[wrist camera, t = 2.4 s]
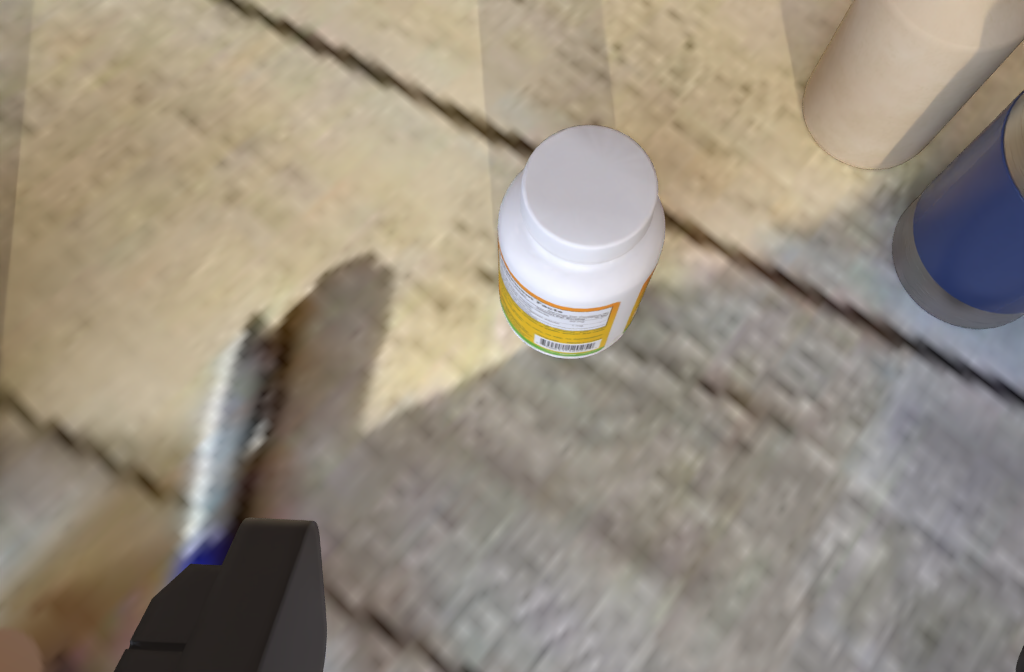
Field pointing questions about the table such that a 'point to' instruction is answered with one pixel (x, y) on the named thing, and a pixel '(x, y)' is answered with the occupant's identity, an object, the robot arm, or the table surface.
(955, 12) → the candle
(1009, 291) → the navy tin
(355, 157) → the table surface
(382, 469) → the table surface
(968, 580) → the table surface
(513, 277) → the supplement bottle
